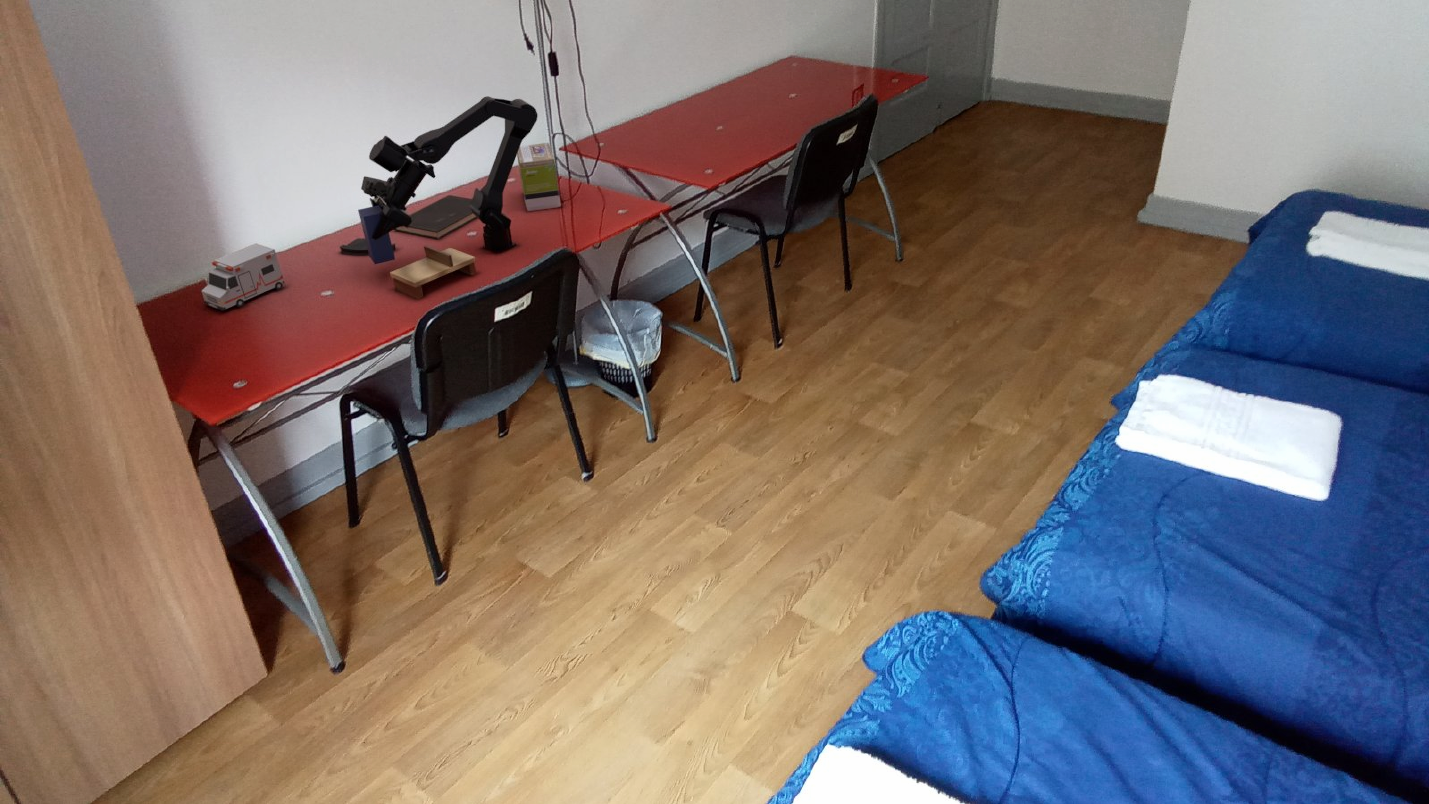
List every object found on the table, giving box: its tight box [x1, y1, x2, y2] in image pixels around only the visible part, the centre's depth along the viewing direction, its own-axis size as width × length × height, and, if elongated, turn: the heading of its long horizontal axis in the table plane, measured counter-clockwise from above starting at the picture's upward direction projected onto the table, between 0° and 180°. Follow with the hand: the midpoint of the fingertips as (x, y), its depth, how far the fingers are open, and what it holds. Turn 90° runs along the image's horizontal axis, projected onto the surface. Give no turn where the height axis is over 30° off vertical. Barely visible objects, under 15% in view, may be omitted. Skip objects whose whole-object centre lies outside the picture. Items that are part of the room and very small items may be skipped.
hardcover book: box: [393, 194, 478, 240], centre depth 278 cm, size 16×23×2 cm
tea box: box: [516, 142, 562, 212], centre depth 284 cm, size 15×10×15 cm, turn 14°
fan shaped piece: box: [339, 237, 397, 256], centre depth 262 cm, size 8×14×2 cm, turn 71°
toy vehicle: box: [201, 242, 285, 311], centre depth 238 cm, size 10×17×10 cm, turn 146°
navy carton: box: [357, 205, 396, 265], centre depth 243 cm, size 5×6×12 cm
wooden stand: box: [389, 245, 477, 300], centre depth 242 cm, size 18×10×8 cm, turn 140°
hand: (370, 234), depth 242 cm, fingers closed on navy carton, 5 cm apart
